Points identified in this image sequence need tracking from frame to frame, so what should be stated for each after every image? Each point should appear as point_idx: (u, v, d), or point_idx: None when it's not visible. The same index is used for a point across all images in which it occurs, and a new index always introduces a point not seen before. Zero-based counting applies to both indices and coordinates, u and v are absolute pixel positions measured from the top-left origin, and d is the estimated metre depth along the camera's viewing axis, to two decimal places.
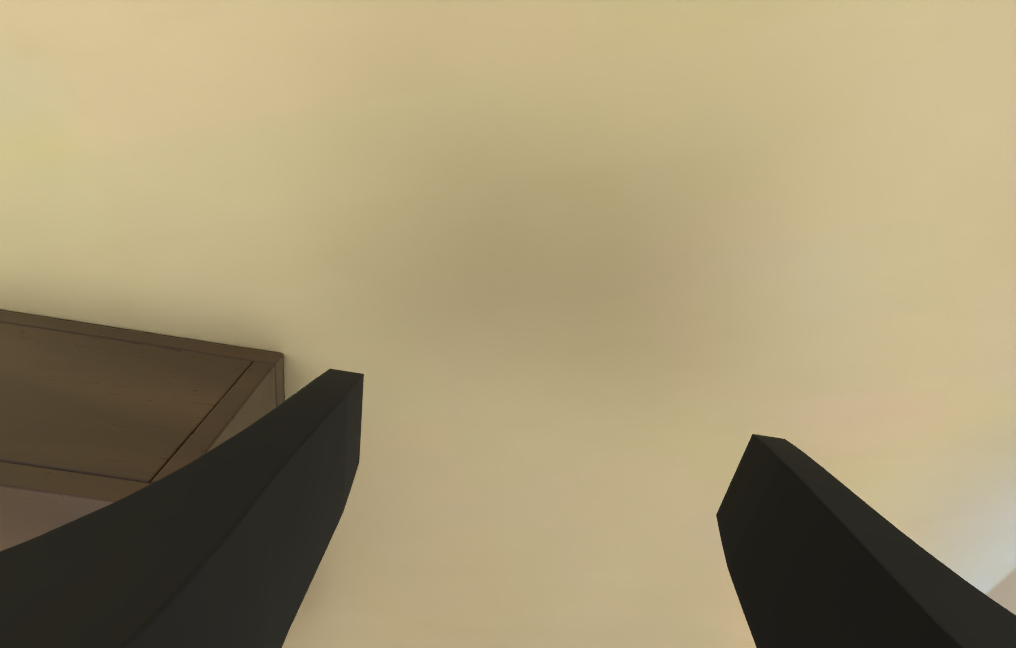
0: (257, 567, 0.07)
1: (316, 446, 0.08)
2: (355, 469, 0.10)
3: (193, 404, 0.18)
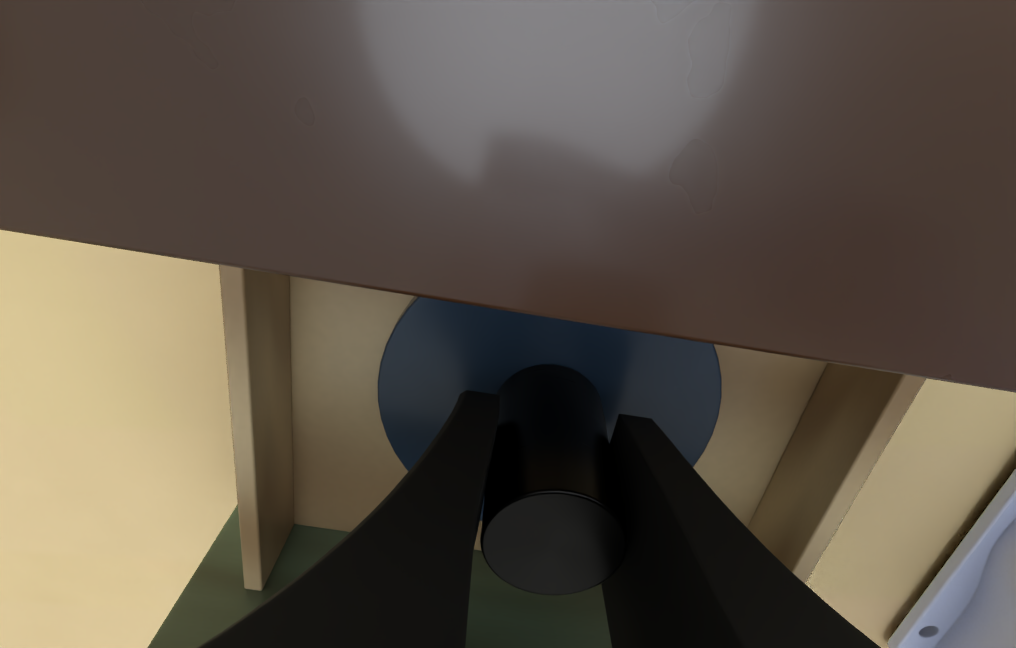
0: None
1: (486, 471, 0.08)
2: None
3: None
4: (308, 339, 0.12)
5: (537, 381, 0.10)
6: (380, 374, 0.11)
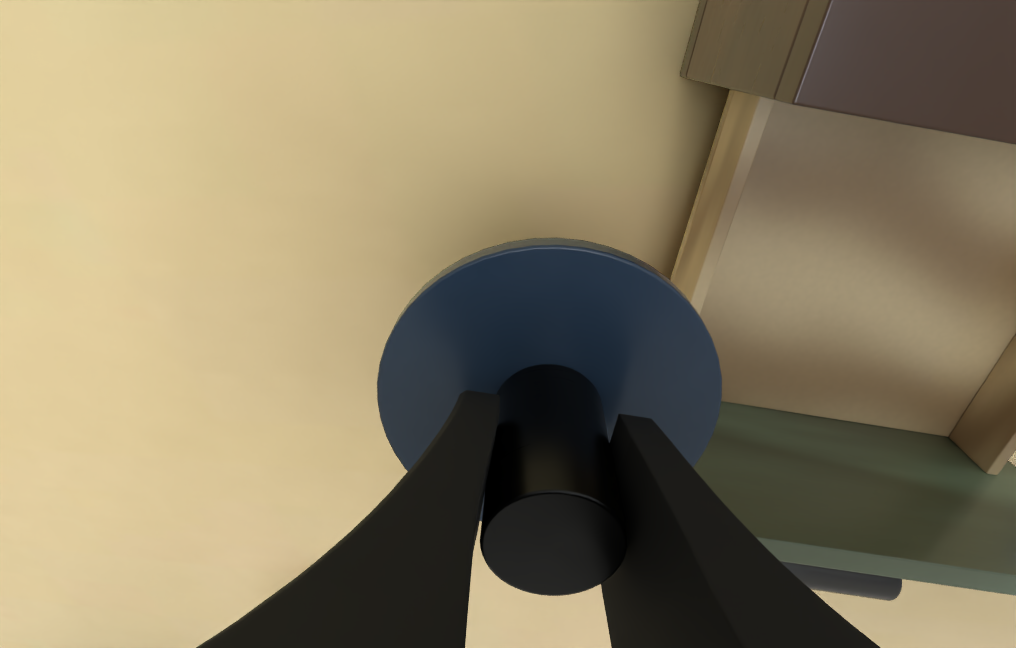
0: None
1: (486, 471, 0.08)
2: None
3: None
4: None
5: (537, 381, 0.10)
6: (380, 374, 0.11)
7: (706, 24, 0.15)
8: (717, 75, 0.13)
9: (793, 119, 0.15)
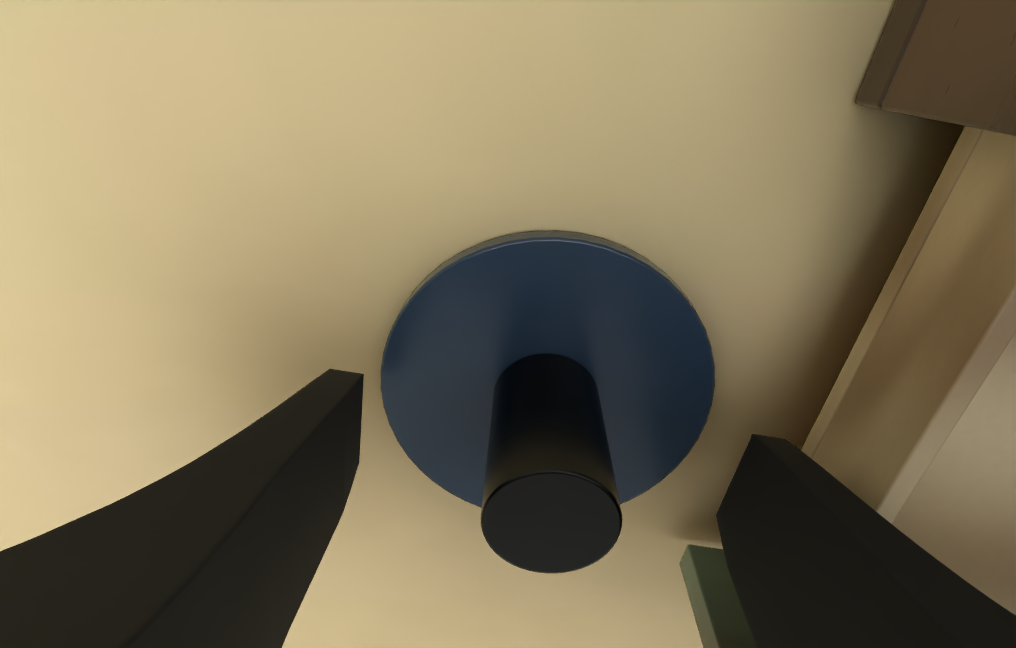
0: (257, 567, 0.07)
1: (316, 446, 0.08)
2: (355, 469, 0.10)
3: None
4: None
5: (536, 369, 0.11)
6: (383, 363, 0.12)
7: (946, 11, 0.08)
8: None
9: None
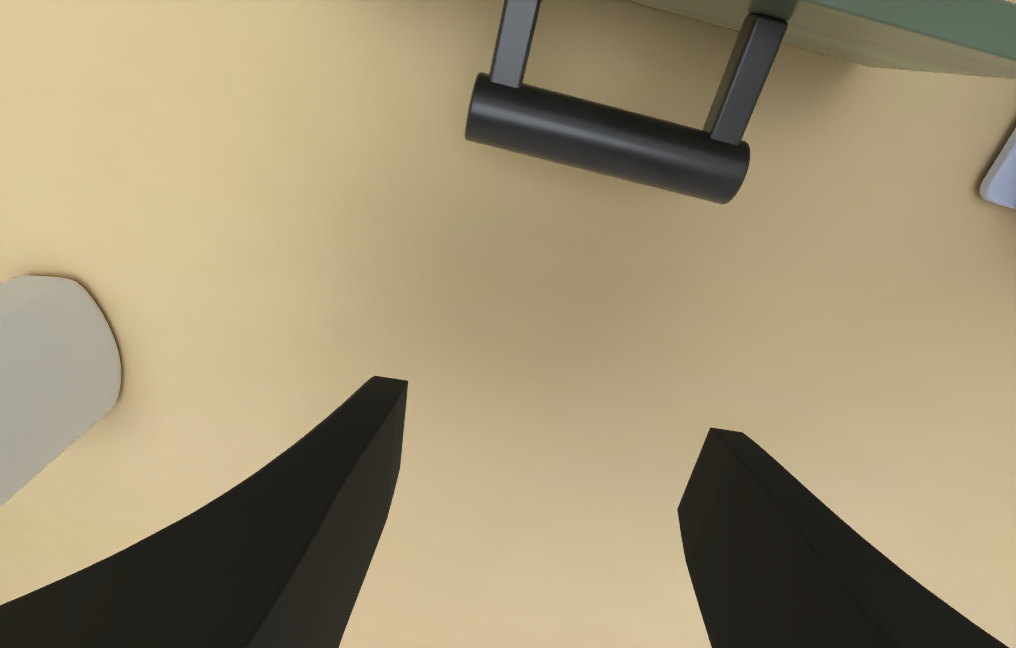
0: (324, 576, 0.07)
1: (372, 454, 0.08)
2: (397, 475, 0.11)
3: None
4: None
5: None
6: None
7: None
8: None
9: None
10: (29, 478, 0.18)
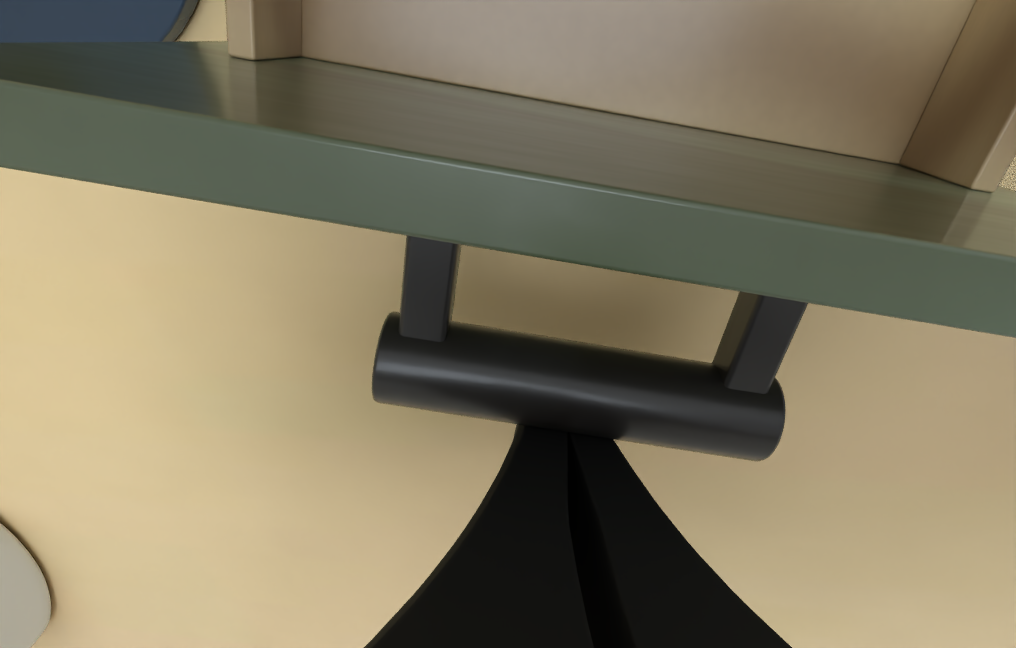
0: None
1: None
2: None
3: None
4: None
5: None
6: None
7: None
8: None
9: None
10: None
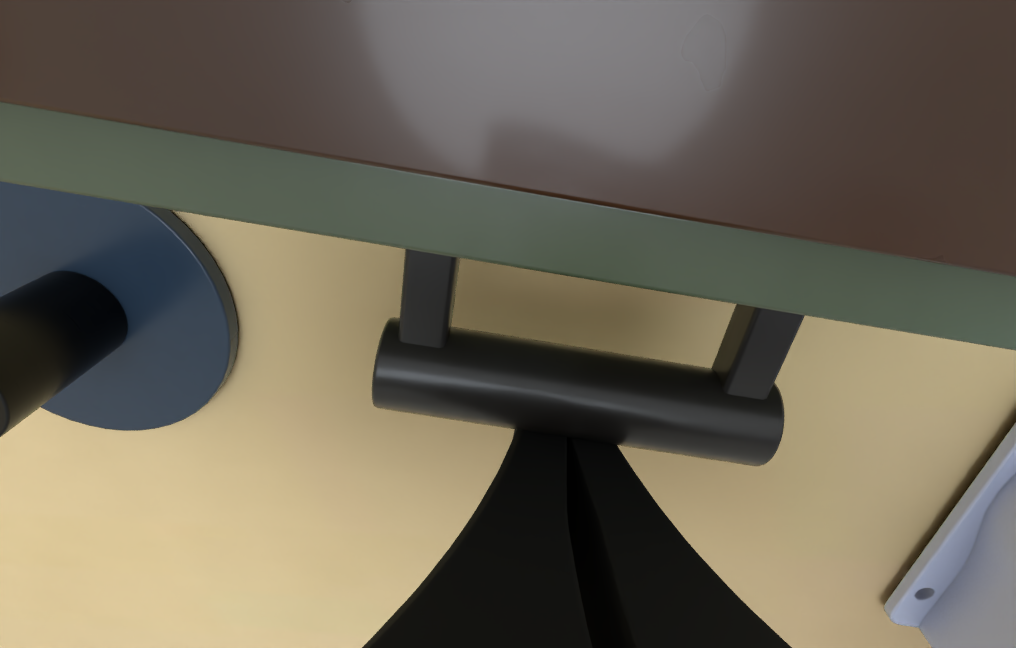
0: None
1: None
2: None
3: None
4: None
5: (34, 282, 0.12)
6: None
7: None
8: None
9: None
10: None
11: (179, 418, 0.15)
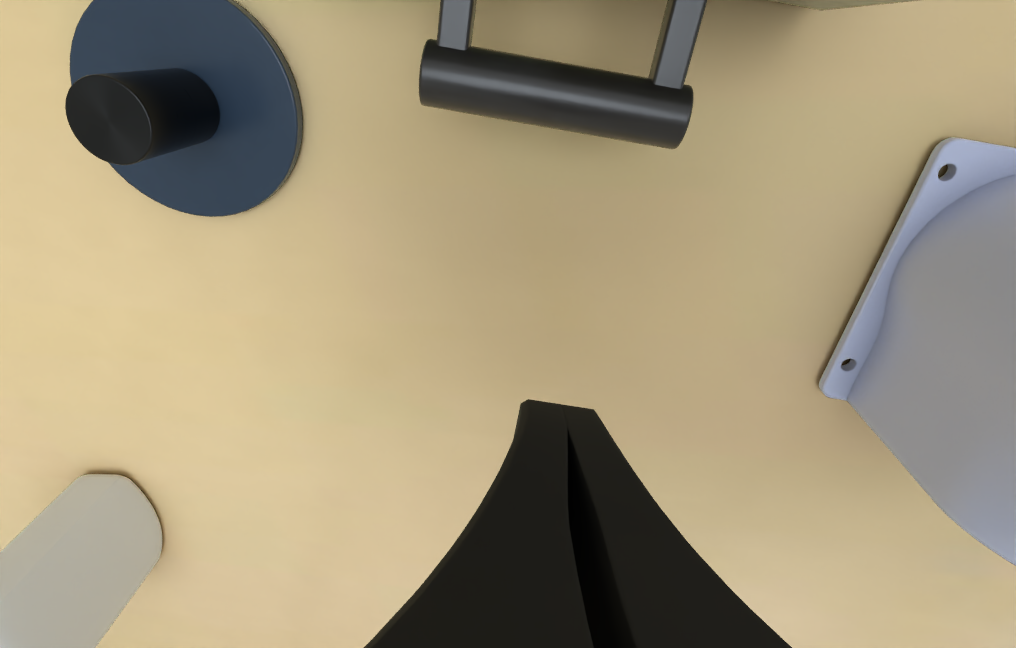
0: None
1: None
2: None
3: None
4: None
5: None
6: (71, 80, 0.17)
7: None
8: None
9: None
10: (99, 640, 0.23)
11: (254, 203, 0.19)
